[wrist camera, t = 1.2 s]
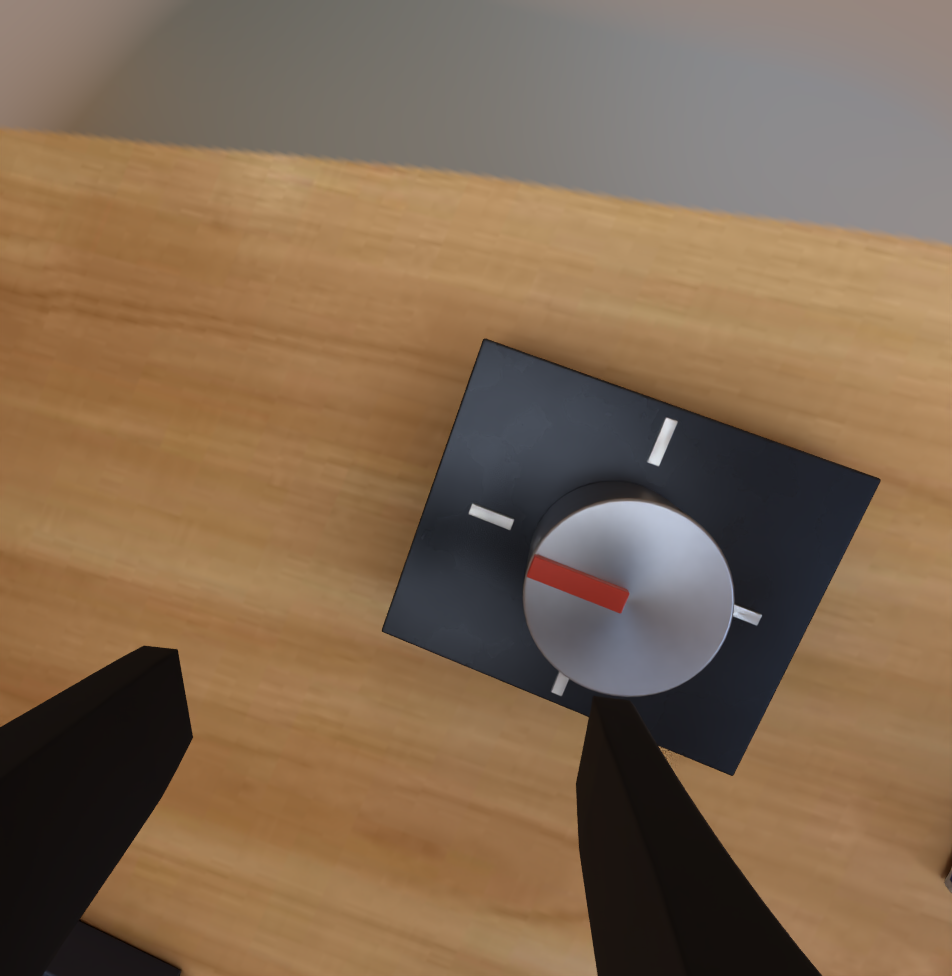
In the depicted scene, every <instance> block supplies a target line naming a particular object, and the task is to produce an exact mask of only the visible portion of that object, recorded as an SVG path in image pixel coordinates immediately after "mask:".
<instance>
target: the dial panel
mask: <svg viewBox="0 0 952 976" xmlns="http://www.w3.org/2000/svg"><path fill="white" fill-rule="evenodd" d="M607 481H620V482H627V483H633V484H636V485H640V486H643V487H645V488H648V489H650V490H652V491H654V492H656V493H658V494H659V495H661V496H662V497H664V498H665V499H667V500H668V501H669V502H671V503H672V504H674V505H675V506H676V507H678V508H679V509H680V510H682V511H683V512H684V513H686V514H687V515H688V516H690V517H691V518H692V519H694V520H695V521H696V522H697V523H699V524H700V525H701V526H702V527H703V528H704V529H705V530H706V531H707V532H708V533H709V534H710V535H711V536H712V537H713V539H714V540H715V541H716V543H717V544H718V546H719V547H720V549H721V550H722V552H723V554H724V556H725V558H726V560H727V563H728V565H729V568H730V571H731V574H732V579H733V584H734V596H735V602H734V613H733V618H732V622H731V626H730V629H729V631H728V634H727V636H726V639H725V641H724V643H723V644H722V646H721V648H720V650H719V651H718V653H717V654H716V655H715V657H714V658H713V659H712V661H711V662H710V663H709V664H708V665H707V666H706V667H705V668H704V669H703V670H702V671H700V672H699V673H698V674H697V675H695V676H694V677H693V678H691V679H690V680H688V681H686V682H685V683H683V684H681V685H679V686H677V687H675V688H672V689H670V690H668V691H665V692H661V693H657V694H654V695H647V696H641V697H622V696H612V695H608V694H603V693H599V692H596V691H593V690H590V689H587V688H585V687H583V686H581V685H579V684H577V683H575V682H574V681H572V680H570V679H569V678H567V677H566V676H564V675H563V674H562V673H561V672H559V671H558V670H557V669H556V668H555V667H553V665H552V664H551V663H550V662H549V661H548V660H547V659H546V658H545V657H544V655H543V654H542V653H541V651H540V650H539V648H538V647H537V645H536V643H535V642H534V640H533V638H532V636H531V634H530V631H529V628H528V626H527V623H526V618H525V614H524V608H523V584H524V578H525V572H526V566H527V561H528V555H529V550H530V544H531V541H532V537H533V534H534V532H535V530H536V528H537V525H538V523H539V522H540V520H541V519H542V517H543V516H544V514H545V513H546V512H547V511H548V510H549V508H550V507H551V506H552V505H553V504H555V503H556V502H557V501H558V500H559V499H560V498H562V497H563V496H565V495H566V494H568V493H570V492H572V491H574V490H575V489H577V488H580V487H583V486H586V485H589V484H593V483H598V482H607ZM880 481H881V480H880V479H879V478H877V477H874V476H871V475H868V474H865V473H863V472H860V471H857V470H854V469H851V468H849V467H846V466H843V465H840V464H837V463H835V462H832V461H829V460H826V459H823V458H820V457H818V456H815V455H812V454H809V453H806V452H804V451H801V450H798V449H795V448H792V447H790V446H787V445H784V444H781V443H778V442H775V441H773V440H770V439H767V438H764V437H761V436H759V435H756V434H753V433H750V432H747V431H744V430H742V429H739V428H736V427H733V426H730V425H728V424H725V423H722V422H719V421H716V420H714V419H711V418H708V417H705V416H702V415H699V414H697V413H694V412H691V411H688V410H685V409H683V408H680V407H677V406H674V405H671V404H669V403H666V402H663V401H660V400H657V399H654V398H652V397H649V396H646V395H643V394H640V393H638V392H635V391H632V390H629V389H626V388H624V387H621V386H618V385H615V384H612V383H609V382H607V381H604V380H601V379H598V378H595V377H593V376H590V375H587V374H584V373H581V372H578V371H576V370H573V369H570V368H567V367H564V366H562V365H559V364H556V363H553V362H550V361H548V360H545V359H542V358H539V357H536V356H533V355H531V354H528V353H525V352H522V351H519V350H517V349H514V348H511V347H508V346H505V345H503V344H500V343H497V342H494V341H491V340H488V339H483V341H482V344H481V347H480V350H479V353H478V356H477V358H476V361H475V364H474V367H473V370H472V373H471V376H470V378H469V381H468V384H467V387H466V390H465V393H464V396H463V398H462V401H461V404H460V407H459V410H458V413H457V416H456V419H455V421H454V424H453V427H452V430H451V433H450V436H449V439H448V441H447V444H446V447H445V450H444V453H443V456H442V459H441V461H440V464H439V467H438V470H437V473H436V476H435V479H434V482H433V484H432V487H431V490H430V493H429V496H428V499H427V502H426V504H425V507H424V510H423V513H422V516H421V519H420V522H419V524H418V527H417V530H416V533H415V536H414V539H413V542H412V545H411V547H410V550H409V553H408V556H407V559H406V562H405V565H404V567H403V570H402V573H401V576H400V579H399V582H398V585H397V587H396V590H395V593H394V596H393V599H392V602H391V605H390V607H389V610H388V613H387V616H386V619H385V622H384V625H383V628H382V632H384V633H387V634H389V635H391V636H394V637H396V638H399V639H401V640H403V641H406V642H408V643H411V644H413V645H416V646H418V647H420V648H423V649H425V650H428V651H430V652H433V653H435V654H437V655H440V656H442V657H445V658H447V659H450V660H452V661H454V662H457V663H459V664H462V665H464V666H467V667H469V668H471V669H474V670H476V671H479V672H481V673H484V674H486V675H488V676H491V677H493V678H496V679H498V680H500V681H503V682H505V683H508V684H510V685H513V686H515V687H517V688H520V689H522V690H525V691H527V692H530V693H532V694H534V695H537V696H539V697H542V698H544V699H547V700H549V701H551V702H554V703H556V704H559V705H561V706H564V707H566V708H568V709H571V710H573V711H576V712H578V713H581V714H583V715H585V716H588V717H589V715H590V710H591V705H592V700H593V696H597V697H605V698H614V699H623V700H630V701H631V702H632V703H633V705H634V706H635V707H636V709H637V711H638V712H639V714H640V716H641V718H642V719H643V721H644V723H645V725H646V726H647V728H648V730H649V731H650V733H651V735H652V737H653V738H654V740H655V742H656V743H657V745H658V746H661V747H663V748H665V749H668V750H670V751H673V752H675V753H678V754H680V755H682V756H685V757H687V758H690V759H692V760H695V761H697V762H699V763H702V764H704V765H707V766H709V767H711V768H714V769H716V770H719V771H721V772H724V773H726V774H728V775H731V776H733V775H734V773H735V771H736V769H737V767H738V765H739V763H740V761H741V759H742V757H743V755H744V753H745V751H746V749H747V747H748V745H749V743H750V741H751V739H752V737H753V735H754V733H755V731H756V729H757V727H758V725H759V723H760V721H761V719H762V717H763V715H764V713H765V711H766V709H767V707H768V705H769V703H770V701H771V699H772V697H773V695H774V693H775V691H776V689H777V687H778V685H779V683H780V681H781V679H782V677H783V675H784V673H785V671H786V669H787V667H788V665H789V663H790V661H791V659H792V657H793V655H794V653H795V651H796V649H797V647H798V645H799V643H800V641H801V639H802V637H803V635H804V633H805V631H806V629H807V627H808V625H809V623H810V621H811V619H812V617H813V615H814V613H815V611H816V609H817V607H818V605H819V603H820V601H821V599H822V597H823V595H824V593H825V591H826V589H827V587H828V585H829V583H830V581H831V579H832V577H833V575H834V573H835V571H836V569H837V567H838V565H839V563H840V561H841V559H842V557H843V555H844V553H845V551H846V549H847V547H848V545H849V543H850V541H851V539H852V537H853V535H854V533H855V531H856V529H857V527H858V525H859V523H860V521H861V519H862V517H863V515H864V513H865V511H866V509H867V507H868V505H869V503H870V501H871V499H872V497H873V495H874V493H875V491H876V489H877V487H878V485H879V483H880Z"/></svg>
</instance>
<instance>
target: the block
mask: <svg viewBox="0 0 952 976" xmlns="http://www.w3.org/2000/svg"><path fill="white" fill-rule="evenodd" d="M180 973H181V971H180V970H179V969H177V968H175V967H173V966H171V965H169V964H167V963H164V962H162V961H160V960H158V959H156V958H154V957H152V956H150V955H148V954H146V953H144V952H142V951H140V950H138V949H136V948H134V947H132V946H130V945H128V944H126V943H123V942H121V941H119V940H117V939H115V938H113V937H111V936H109V935H107V934H105V933H103V932H101V931H99V930H97V929H95V928H93V927H91V926H89V925H87V924H84V923H82V922H80V921H78V922H77V924H76V925H75V927H74V928H73V930H72V931H71V933H70V934H69V935H68V937H67V938H66V940H65V941H64V943H63V944H62V946H61V947H60V949H59V950H58V952H57V954H56V955H55V957H54V958H53V960H52V961H51V963H50V965H49V966H48V968H47V969H46V971H45V972H44V974H43V976H180Z"/></svg>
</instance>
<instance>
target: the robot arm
mask: <svg viewBox="0 0 952 976" xmlns="http://www.w3.org/2000/svg"><path fill="white" fill-rule="evenodd" d="M192 738H193V735H192V729H191V723H190V718H189V712H188V706H187V700H186V695H185V689H184V683H183V678H182V672H181V666H180V660H179V655H178V649H169V648H160V647H151V646H142V647H140V648H139V649H137V650H135V651H133V652H131V653H129V654H127V655H125V656H123V657H122V658H120V659H118V660H116V661H115V662H113V663H111V664H109V665H107V666H106V667H104V668H102V669H100V670H99V671H97V672H95V673H93V674H92V675H90V676H88V677H87V678H85V679H83V680H81V681H80V682H78V683H76V684H75V685H73V686H71V687H69V688H68V689H66V690H64V691H63V692H61V693H59V694H57V695H56V696H54V697H52V698H50V699H49V700H47V701H45V702H43V703H42V704H40V705H38V706H37V707H35V708H33V709H31V710H30V711H28V712H26V713H24V714H23V715H21V716H19V717H17V718H16V719H14V720H12V721H10V722H9V723H7V724H5V725H3V726H2V727H0V976H43V974H44V972H45V971H46V969H47V968H48V966H49V965H50V963H51V961H52V960H53V958H54V957H55V955H56V954H57V952H58V950H59V949H60V947H61V946H62V944H63V943H64V941H65V940H66V938H67V937H68V935H69V934H70V933H71V931H72V930H73V928H74V927H75V925H76V924H77V922H78V921H79V919H80V918H81V916H82V915H83V913H84V912H85V910H86V909H87V908H88V906H89V905H90V903H91V902H92V900H93V899H94V897H95V896H96V894H97V893H98V891H99V890H100V888H101V887H102V885H103V884H104V883H105V881H106V880H107V878H108V877H109V875H110V874H111V872H112V871H113V869H114V868H115V866H116V865H117V863H118V862H119V861H120V859H121V858H122V856H123V855H124V853H125V852H126V850H127V849H128V847H129V846H130V844H131V843H132V841H133V840H134V838H135V837H136V835H137V834H138V832H139V831H140V829H141V828H142V826H143V825H144V823H145V822H146V820H147V819H148V817H149V816H150V814H151V813H152V811H153V810H154V808H155V807H156V805H157V804H158V802H159V801H160V799H161V798H162V796H163V794H164V792H165V790H166V789H167V787H168V785H169V783H170V781H171V779H172V777H173V776H174V774H175V772H176V770H177V768H178V766H179V764H180V762H181V760H182V758H183V756H184V754H185V752H186V750H187V748H188V746H189V744H190V742H191V740H192ZM576 794H577V817H578V836H579V851H580V859H581V866H582V873H583V879H584V886H585V893H586V900H587V907H588V914H589V920H590V927H591V934H592V940H593V947H594V954H595V961H596V967H597V974H598V976H822V975H821V974H820V973H819V971H818V970H817V969H816V968H815V966H814V965H813V964H812V963H811V962H810V960H809V959H808V958H807V957H806V955H805V954H804V953H803V952H802V951H801V949H800V948H799V947H798V946H797V944H796V943H795V942H794V941H793V939H792V938H791V937H790V936H789V934H788V933H787V932H786V930H785V929H784V928H783V927H782V925H781V924H780V923H779V921H778V920H777V919H776V918H775V916H774V915H773V914H772V912H771V911H770V910H769V908H768V907H767V906H766V904H765V903H764V902H763V900H762V899H761V898H760V896H759V895H758V894H757V892H756V891H755V890H754V888H753V887H752V885H751V884H750V883H749V881H748V880H747V879H746V877H745V876H744V875H743V873H742V872H741V870H740V869H739V868H738V866H737V865H736V864H735V862H734V861H733V859H732V858H731V857H730V855H729V854H728V852H727V851H726V849H725V848H724V847H723V845H722V844H721V842H720V841H719V839H718V838H717V837H716V835H715V834H714V832H713V831H712V829H711V828H710V826H709V825H708V823H707V822H706V820H705V819H704V817H703V816H702V814H701V813H700V811H699V810H698V808H697V807H696V805H695V804H694V802H693V801H692V799H691V798H690V796H689V795H688V793H687V792H686V790H685V789H684V787H683V785H682V784H681V782H680V781H679V779H678V778H677V776H676V774H675V773H674V771H673V770H672V768H671V766H670V765H669V763H668V761H667V760H666V758H665V757H664V755H663V753H662V752H661V750H660V748H659V747H658V745H657V743H656V742H655V740H654V738H653V737H652V735H651V733H650V731H649V730H648V728H647V726H646V725H645V723H644V721H643V719H642V718H641V716H640V714H639V712H638V711H637V709H636V707H635V706H634V705H633V703H632V702H631V701H630V700H623V699H614V698H605V697H597V696H593V700H592V705H591V710H590V715H589V720H588V725H587V730H586V736H585V741H584V746H583V751H582V756H581V761H580V766H579V771H578V776H577V781H576Z"/></svg>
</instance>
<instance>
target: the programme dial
mask: <svg viewBox="0 0 952 976" xmlns="http://www.w3.org/2000/svg"><path fill="white" fill-rule="evenodd" d="M734 602H735V596H734V584H733V579H732V574H731V571H730V568H729V565H728V563H727V560H726V558H725V556H724V554H723V552H722V550H721V549H720V547H719V546H718V544H717V543H716V541H715V540H714V539H713V537H712V536H711V535H710V534H709V533H708V532H707V531H706V530H705V529H704V528H703V527H702V526H701V525H700V524H699V523H697V522H696V521H695V520H694V519H692V518H691V517H690V516H688V515H687V514H686V513H684V512H683V511H682V510H680V509H679V508H678V507H676V506H675V505H674V504H672V503H671V502H669V501H668V500H667V499H665V498H664V497H662V496H661V495H659V494H658V493H656V492H654V491H652V490H650V489H648V488H645V487H643V486H640V485H636V484H633V483H627V482H620V481H607V482H598V483H593V484H589V485H586V486H583V487H580V488H577V489H575V490H574V491H572V492H570V493H568V494H566V495H565V496H563V497H562V498H560V499H559V500H558V501H557V502H556V503H555V504H553V505H552V506H551V507H550V508H549V510H548V511H547V512H546V513H545V514H544V516H543V517H542V519H541V520H540V522H539V523H538V525H537V528H536V530H535V532H534V534H533V537H532V541H531V544H530V550H529V555H528V561H527V566H526V572H525V578H524V584H523V608H524V614H525V618H526V623H527V626H528V628H529V631H530V634H531V636H532V638H533V640H534V642H535V643H536V645H537V647H538V648H539V650H540V651H541V653H542V654H543V655H544V657H545V658H546V659H547V660H548V661H549V662H550V663H551V664H552V665H553V667H555V668H556V669H557V670H558V671H559V672H561V673H562V674H563V675H564V676H566V677H567V678H569V679H570V680H572V681H574V682H575V683H577V684H579V685H581V686H583V687H585V688H587V689H590V690H593V691H596V692H599V693H603V694H608V695H612V696H622V697H641V696H647V695H654V694H657V693H661V692H665V691H668V690H670V689H672V688H675V687H677V686H679V685H681V684H683V683H685V682H686V681H688V680H690V679H691V678H693V677H694V676H695V675H697V674H698V673H699V672H700V671H702V670H703V669H704V668H705V667H706V666H707V665H708V664H709V663H710V662H711V661H712V659H713V658H714V657H715V655H716V654H717V653H718V651H719V650H720V648H721V646H722V644H723V643H724V641H725V639H726V636H727V634H728V631H729V629H730V626H731V622H732V618H733V613H734Z"/></svg>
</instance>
